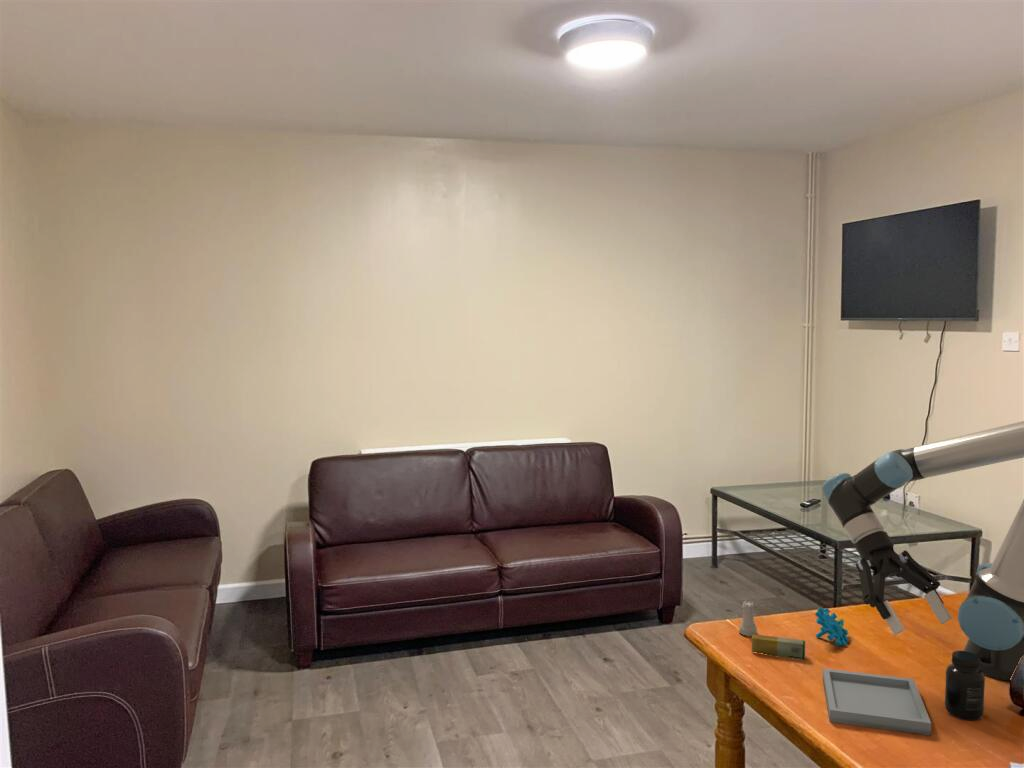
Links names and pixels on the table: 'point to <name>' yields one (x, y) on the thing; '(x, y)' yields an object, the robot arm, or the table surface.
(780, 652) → the medication box
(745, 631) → the rook chess piece
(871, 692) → the tray
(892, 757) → the table surface
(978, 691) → the supplement bottle
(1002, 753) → the table surface
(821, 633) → the blue bumpy irregular piece
